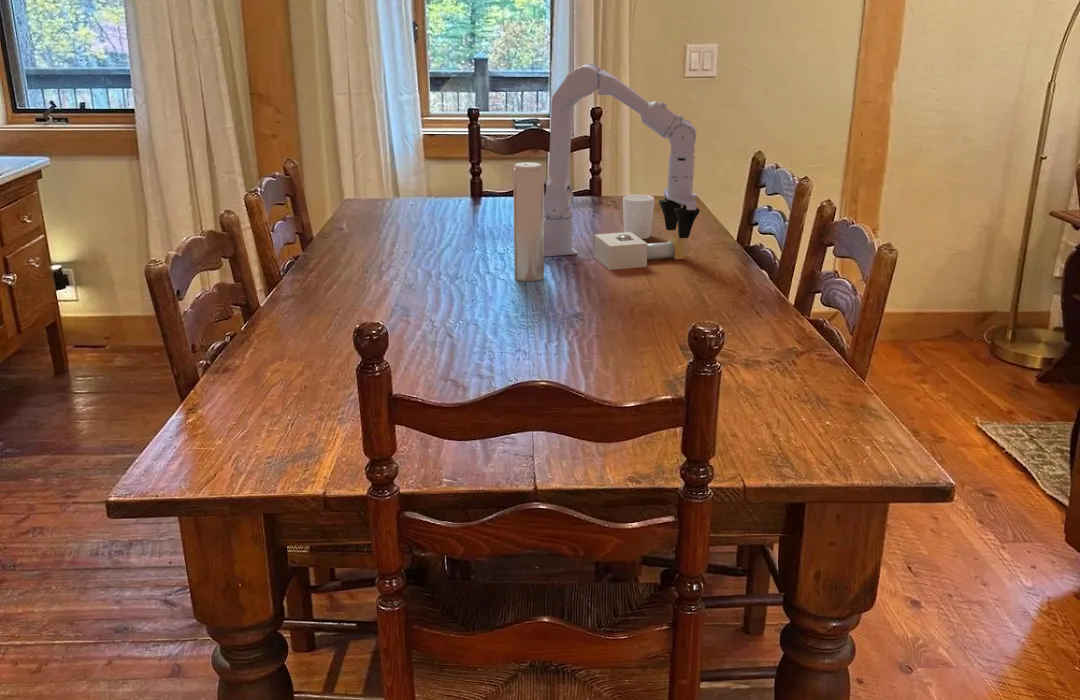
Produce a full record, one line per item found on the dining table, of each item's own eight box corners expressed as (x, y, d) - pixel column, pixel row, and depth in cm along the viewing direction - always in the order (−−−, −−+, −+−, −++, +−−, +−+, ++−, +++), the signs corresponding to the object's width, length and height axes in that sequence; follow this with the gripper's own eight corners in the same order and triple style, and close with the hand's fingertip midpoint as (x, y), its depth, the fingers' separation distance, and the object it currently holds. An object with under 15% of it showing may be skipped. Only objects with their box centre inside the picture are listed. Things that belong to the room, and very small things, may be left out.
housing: (609, 269, 212) (609, 246, 210) (594, 257, 222) (594, 234, 220) (646, 266, 215) (647, 243, 213) (629, 254, 225) (630, 231, 223)
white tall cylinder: (540, 282, 203) (540, 167, 194) (511, 281, 205) (510, 166, 195) (546, 274, 209) (546, 161, 200) (518, 272, 210) (517, 160, 201)
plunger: (620, 246, 216) (621, 238, 215) (616, 243, 218) (616, 235, 217) (632, 245, 216) (632, 237, 216) (628, 242, 219) (628, 234, 218)
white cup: (652, 232, 244) (654, 194, 241) (652, 240, 237) (654, 201, 233) (622, 232, 245) (623, 194, 241) (621, 239, 238) (622, 200, 234)
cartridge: (643, 262, 218) (643, 241, 216) (636, 257, 222) (637, 237, 220) (684, 259, 220) (685, 238, 218) (677, 254, 224) (678, 234, 222)
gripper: (710, 181, 209) (706, 240, 214) (684, 169, 222) (680, 225, 227) (681, 182, 208) (677, 242, 213) (656, 170, 221) (653, 227, 226)
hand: (677, 233), depth 220 cm, fingers open, 7 cm apart
